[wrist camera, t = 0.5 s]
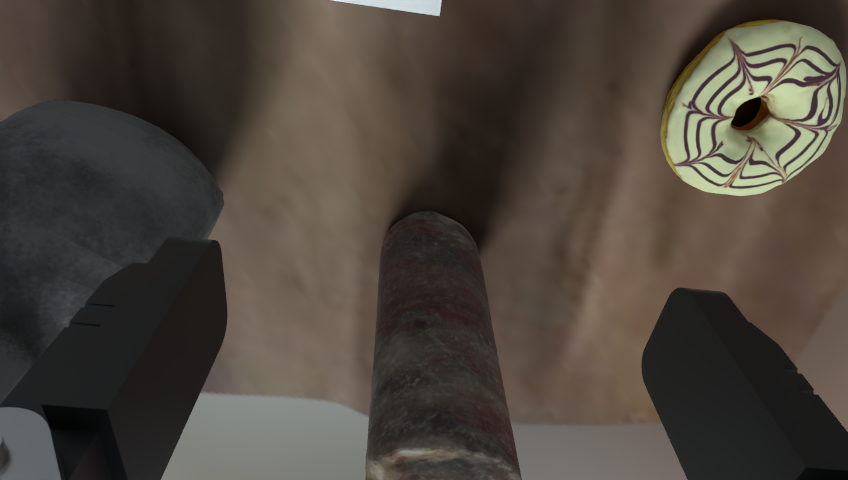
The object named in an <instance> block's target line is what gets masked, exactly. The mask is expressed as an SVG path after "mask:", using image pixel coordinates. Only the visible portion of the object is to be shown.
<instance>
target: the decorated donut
mask: <svg viewBox="0 0 848 480" xmlns="http://www.w3.org/2000/svg"><path fill="white" fill-rule="evenodd" d="M845 88H846V68H845V64H844V60H843V58H842V55H841V53H840V51H839V50H838V48H837V46H836V45H835V42H834V41H833V40H832V39H830V38H828V37H827V36H826V35H825V34H823V33H822V32H820V31H819V30H817V29H814V28H812V27H810V26H806V25H802V24H798V23H793V22H789V21H785V20H775V19H771V20H759V21H751V22H746V23H743V24H740V25H737V26H735V27H733V28H731V29H728V30H725V31H723V32H721V33H719V34H718V35H717V36H716V37H714V39H713V40H712V41H711V42H710V43H709V44H708V45H707V46H706V47H705V48H704V49H703V50H702V51H701V52H700V53H699V54H698V55H697V56H696V57H695V58H694V59H693V60H692V61H691V62H690V63H689V64H688V65H687V66H686V68H685V69H684V70H683V72H682V73H681V75H680V76H679V78H678V79H677V80H676V82H675V83H674V84H673V86H672V88H671V90H670V91H669V93H668V95H667V99H666V102H665V106H664V108H663V115H662V118H661V119H662V120H661V130H660V131H661V132H660V135H661V136H660V137H661V144H662V147H663V151H664V154H665V156H666V159H667V161H668V163H669V165H670V166H671V168H672V169H673V170H674V172H675V173H676V174H677V175H678V176H679V177H680V178H681V179H682V180H683V181H684V182H686V183H688V184H690V185H692V186H694V187H696V188H698V189H700V190H702V191H705V192H712V193H717V194H729V195H736V196H745V195H754V194H760V193H763V192H766V191H768V190H770V189H772V188H773V187H775V186H777V185H781V184H783V183H785V182H786V181H787V180H789V179H791V178H792V177H793V176H795V175H796V174H798V173H799V172H800V171H802V170H803V169H804V168H805V167H806V166H807V165H808V164H810V163H811V162H812V161H814V160H815V159H816V158H818V157H819V156H820V155H821V154H822V153H823V152H824V151H825V149H826V148H827V145H828V144H829V142H830V140H831V137H832V134H833V132H834V131H835V129H836V128H837V126H838V125H839V124H840V122H841V119H842V112H843V101H844V97H845ZM759 96H760V98H761V106H760V109H759V111H758V113H757V115H756V117H755V118H754V119H753V120H752V121H751V122H750V123H748V124H746V125H744V126H742V127H736V126H734V125H732V124H731V121H732V120H733V118H734V116H735V112H736V110H737V108H738V107H739V106H740V105H741V104H742V103H744V102H745V101H747V100H749V99H752V98H756V97H759Z"/></svg>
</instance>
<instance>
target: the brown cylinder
mask: <svg viewBox="0 0 848 480" xmlns="http://www.w3.org/2000/svg"><path fill="white" fill-rule="evenodd" d="M366 480H522V479H521V474H520V468H519V463H518V458H517V453H516V448H515V442H514V437H513V431H512V427H511V423H510V417H509V411H508V407H507V403H506V397H505V392H504V387H503V382H502V376H501V371H500V367H499V361H498V355H497V349H496V344H495V339H494V333H493V329H492V323H491V316H490V310H489V304H488V298H487V293H486V287H485V282H484V276H483V271H482V266H481V262H480V257H479V252H478V248H477V245H476V243H475V241H474V240H473V238H472V237H471V235H470V234H469V232H468V231H467V230H466V229H465V227H464V226H462V225H461V224H459V223H458V222H456V221H454V220H452V219H450V218H448V217H445V216H443V215H441V214H438V213H437V212H434V211H420V212H416V213H413V214H411V215H409V216H407V217H405V218H404V219H402V220H400V221H398V222H397V223H396V224H394V225H393V226H392V227H391V228H390V230H389V231H388V233H387V234H386V237H385V240H384V242H383V245H382V249H381V255H380V268H379V284H378V301H377V320H376V335H375V350H374V362H373V374H372V390H371V403H370V416H369V428H368V443H367V453H366Z"/></svg>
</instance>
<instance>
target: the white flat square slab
mask: <svg viewBox="0 0 848 480" xmlns="http://www.w3.org/2000/svg"><path fill="white" fill-rule="evenodd" d="M333 1H340V2H347V3H354V4H361V5H367V6H374V7H381V8H388V9H395V10H402V11H409V12H415V13H422V14H429V15H436V16H440V9H441V2H442V0H333Z"/></svg>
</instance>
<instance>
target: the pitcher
mask: <svg viewBox="0 0 848 480" xmlns="http://www.w3.org/2000/svg"><path fill="white" fill-rule="evenodd" d="M223 206H224V201H223V193H222V191H221V190H220V188H219V186H218V184H217V183H216V181H215V179H214V178H213V177H212V175H211V174H210V173H209V171H208V170H207V169H206V167H205V166H204V165H203V163H202V162H201V161H200V160H199V159H198V158H197V157H196V156H195V155H194V154H193V153H192V151H191V150H190V149H188V148H187V147H186V146H185V145H183V144H182V143H181V142H180V141H179V140H177V139H176V138H175V137H174V136H172V135H169V134H168V133H167V132H165V131H164V130H162V129H161V128H159V127H157V126H155V125H153V124H151V123H149V122H147V121H145V120H142V119H140V118H138V117H136V116H134V115H131V114H128V113H124V112H121V111H118V110H114V109H111V108H108V107H104V106H100V105H96V104H90V103H83V102H76V101H69V100H56V101H46V102H43V103H40V104H37V105H34V106H32V107H29V108H26V109H24V110H21V111H19V112H16V113H14V114H13V115H11V116H10V117H8V118H6V119H5V120H3V121H1V122H0V404H1V403H2V402H3V401H4V399H5V398H6V397H7V396H8V395H9V393H10V392H11V391H12V390H13V389H14V387H15V386H16V385H17V384H18V383H19V381H20V380H21V379H22V378H23V377H24V375H25V374H26V373H27V372H28V371H29V369H30V368H31V367H32V366H33V365H34V363H35V362H36V361H37V360H38V359H39V357H40V356H41V355H42V354H43V353H44V351H45V350H46V349H47V348H48V347H49V345H50V344H51V343H52V342H53V341H54V340H55V338H56V337H57V336H58V335H59V334H60V332H61V331H62V330H63V329H64V328H65V327H68V326H69V322H70V320H71V319H72V318H73V317H74V316H75V314H76V313H77V312H78V311H79V310H80V308H81V307H82V308H84V307H85V302H86V301H87V300H88V299H89V298H90V296H91V295H92V294H93V293H94V292H95V290H96V289H97V288H98V287H99V286H100V284H101V283H102V282H103V281H104V280H105V279H107V278H108V277H110V276H112V275H113V274H115V273H116V272H118V271H120V270H121V269H123V268H125V267H126V266H128V265H129V264H131V263H133V262H135V263H146V264H147V263H148V262H149V261H150V259H151V258H152V257H153V255H154V254H155V253H156V251H157V250H158V249H159V247H160V246H161V245H162V243H163V242H164V241H165V240H166V239H167V238H168V237H170V236H176V237H187V238H197V239H208V237H209V235H210V233H211V231H212V229H213V227H214V225H215V223H216V221H217V219H218V217H219V215H220V213H221V211H222V208H223Z"/></svg>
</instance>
